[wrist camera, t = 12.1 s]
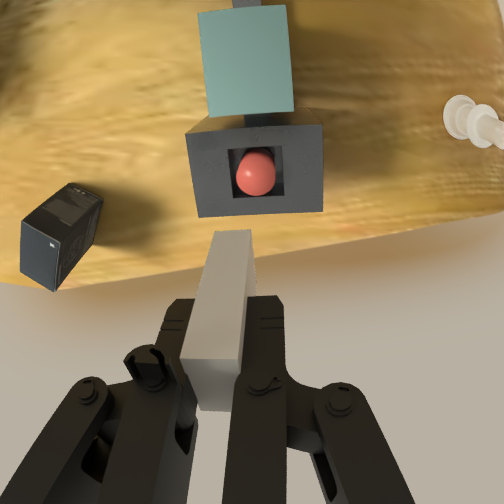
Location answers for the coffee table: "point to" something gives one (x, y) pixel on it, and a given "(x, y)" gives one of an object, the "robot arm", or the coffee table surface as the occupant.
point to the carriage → (246, 60)
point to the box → (58, 235)
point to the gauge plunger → (256, 172)
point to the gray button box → (251, 136)
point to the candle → (473, 122)
